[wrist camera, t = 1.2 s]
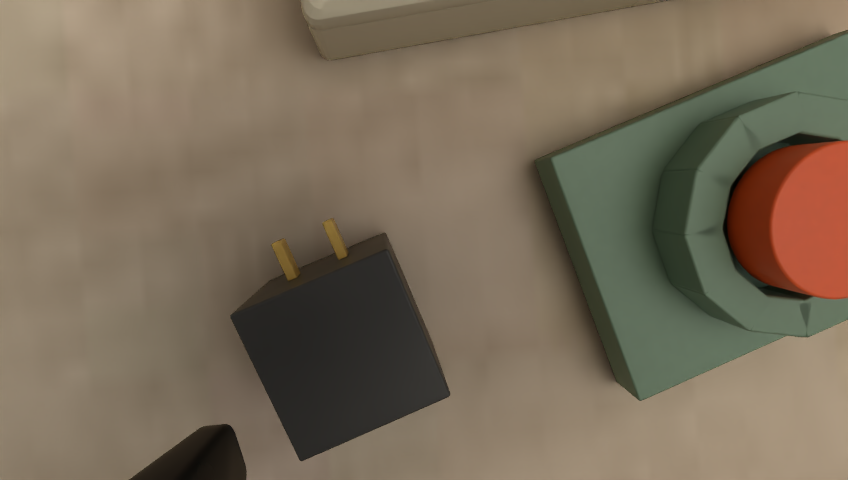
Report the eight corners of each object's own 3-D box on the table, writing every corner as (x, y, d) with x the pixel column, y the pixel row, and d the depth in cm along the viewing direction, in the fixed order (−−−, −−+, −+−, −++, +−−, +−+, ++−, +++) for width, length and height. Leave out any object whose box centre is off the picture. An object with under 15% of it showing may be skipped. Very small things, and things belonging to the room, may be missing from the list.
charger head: (320, 392, 18) (299, 463, 13) (253, 249, 17) (207, 273, 12) (432, 343, 18) (451, 397, 13) (372, 200, 17) (369, 205, 13)
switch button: (749, 309, 15) (796, 324, 14) (707, 178, 15) (750, 177, 13) (873, 254, 16) (934, 263, 14) (836, 123, 15) (896, 114, 13)
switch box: (616, 382, 19) (670, 427, 15) (533, 160, 18) (571, 154, 14) (895, 259, 19) (1008, 275, 16) (832, 34, 18) (941, -2, 15)
